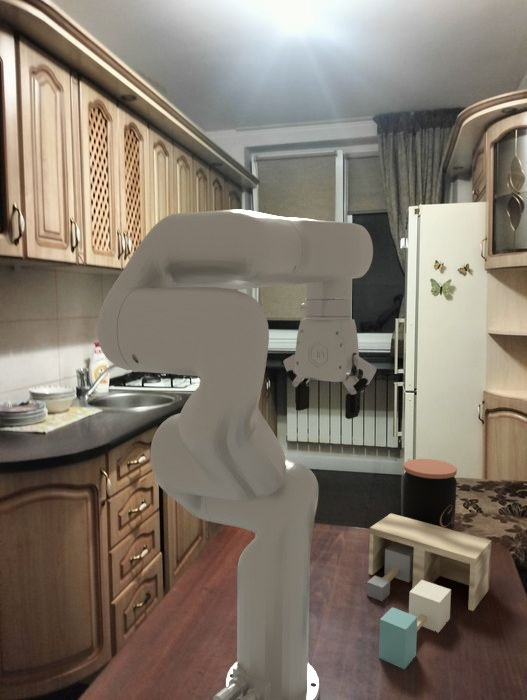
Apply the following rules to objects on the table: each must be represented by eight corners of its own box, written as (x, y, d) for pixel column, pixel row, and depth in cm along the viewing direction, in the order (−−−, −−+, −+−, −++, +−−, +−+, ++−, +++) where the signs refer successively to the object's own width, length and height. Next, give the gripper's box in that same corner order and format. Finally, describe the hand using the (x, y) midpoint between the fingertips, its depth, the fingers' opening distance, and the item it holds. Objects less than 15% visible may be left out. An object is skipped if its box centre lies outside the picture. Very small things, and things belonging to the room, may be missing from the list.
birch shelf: (473, 611, 92) (475, 558, 91) (368, 573, 105) (369, 527, 104) (489, 589, 99) (491, 540, 98) (389, 556, 112) (390, 513, 111)
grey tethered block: (387, 603, 95) (388, 575, 94) (361, 593, 98) (362, 566, 97) (419, 572, 105) (420, 547, 105) (395, 564, 109) (396, 540, 108)
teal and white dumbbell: (407, 671, 77) (409, 630, 77) (375, 656, 81) (376, 617, 80) (449, 618, 90) (451, 583, 90) (420, 607, 93) (421, 574, 93)
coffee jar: (446, 566, 108) (450, 477, 106) (393, 553, 113) (396, 468, 111) (458, 546, 117) (462, 463, 115) (409, 534, 122) (411, 455, 120)
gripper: (272, 309, 92) (271, 409, 94) (364, 312, 81) (361, 425, 83) (298, 309, 98) (297, 403, 100) (387, 311, 87) (384, 417, 89)
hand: (326, 413), depth 91 cm, fingers open, 9 cm apart
